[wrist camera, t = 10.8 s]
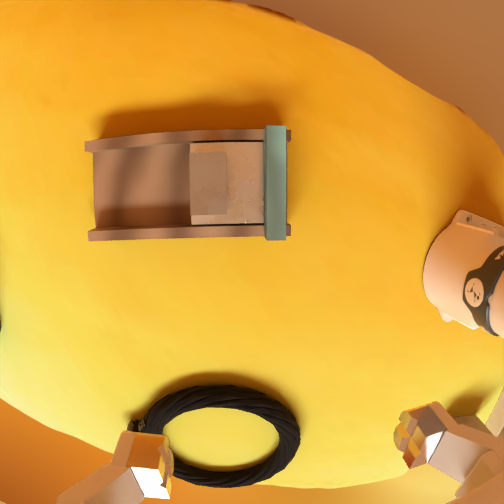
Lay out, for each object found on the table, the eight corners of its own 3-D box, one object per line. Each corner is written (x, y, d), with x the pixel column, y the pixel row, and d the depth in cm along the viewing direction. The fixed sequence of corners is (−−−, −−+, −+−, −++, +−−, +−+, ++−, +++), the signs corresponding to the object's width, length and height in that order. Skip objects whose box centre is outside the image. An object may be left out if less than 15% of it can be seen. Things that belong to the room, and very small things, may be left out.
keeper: (261, 144, 35) (268, 136, 28) (261, 220, 37) (268, 229, 30) (192, 146, 34) (184, 138, 27) (194, 221, 36) (186, 231, 29)
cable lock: (281, 493, 48) (132, 478, 44) (278, 479, 51) (135, 464, 48) (323, 400, 42) (120, 377, 38) (317, 385, 45) (126, 363, 42)
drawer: (284, 135, 36) (295, 126, 30) (284, 230, 39) (295, 240, 33) (97, 144, 34) (75, 139, 28) (101, 235, 37) (79, 245, 31)
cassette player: (432, 427, 51) (452, 454, 42) (438, 418, 51) (459, 445, 41) (469, 422, 53) (488, 445, 44) (475, 414, 53) (495, 436, 43)
